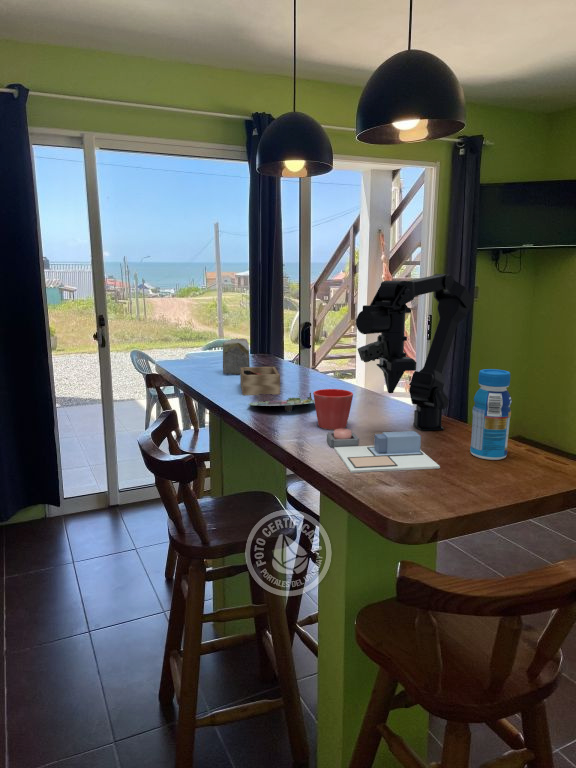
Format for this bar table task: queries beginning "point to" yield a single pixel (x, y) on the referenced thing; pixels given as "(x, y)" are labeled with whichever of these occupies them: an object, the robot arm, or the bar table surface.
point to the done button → (342, 434)
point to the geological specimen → (235, 355)
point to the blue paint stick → (397, 442)
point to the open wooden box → (260, 381)
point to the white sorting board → (382, 460)
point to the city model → (285, 402)
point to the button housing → (342, 441)
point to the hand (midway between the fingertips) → (390, 392)
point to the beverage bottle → (491, 415)
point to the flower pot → (332, 408)
